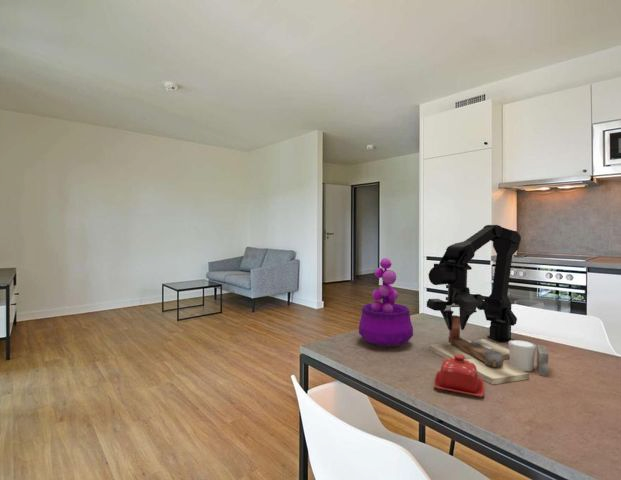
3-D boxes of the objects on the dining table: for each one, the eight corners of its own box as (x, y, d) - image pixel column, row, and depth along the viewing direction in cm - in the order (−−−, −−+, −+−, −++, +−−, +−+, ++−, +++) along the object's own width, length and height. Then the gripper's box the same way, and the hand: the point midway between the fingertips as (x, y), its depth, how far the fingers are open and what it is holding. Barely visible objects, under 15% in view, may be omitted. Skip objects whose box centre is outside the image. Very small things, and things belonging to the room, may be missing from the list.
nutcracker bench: (488, 342, 122) (489, 325, 122) (563, 374, 96) (564, 352, 96) (429, 349, 115) (429, 331, 115) (492, 384, 89) (492, 361, 89)
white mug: (541, 372, 97) (541, 347, 97) (516, 371, 97) (516, 347, 97) (526, 362, 104) (526, 339, 104) (503, 362, 104) (503, 339, 104)
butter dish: (483, 382, 91) (483, 350, 91) (484, 402, 81) (485, 366, 81) (437, 374, 96) (437, 344, 96) (432, 392, 86) (433, 358, 86)
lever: (507, 366, 96) (508, 334, 96) (492, 367, 95) (492, 335, 95) (458, 341, 118) (458, 314, 117) (445, 342, 117) (445, 315, 116)
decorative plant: (424, 346, 118) (425, 258, 117) (383, 356, 109) (383, 261, 108) (386, 331, 135) (387, 255, 134) (348, 339, 126) (348, 257, 125)
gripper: (443, 287, 106) (442, 338, 106) (499, 287, 108) (497, 336, 109) (426, 282, 117) (425, 327, 117) (477, 281, 119) (476, 326, 120)
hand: (455, 329), depth 115 cm, fingers open, 4 cm apart
